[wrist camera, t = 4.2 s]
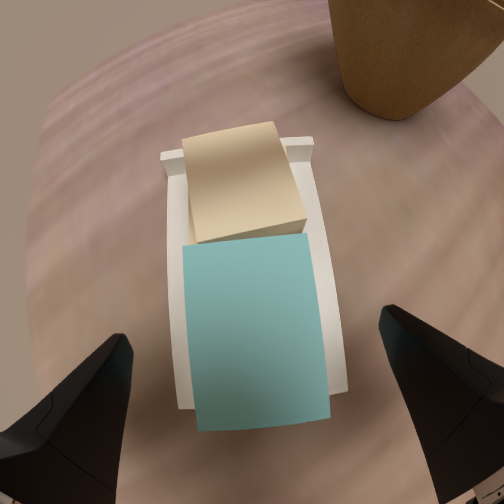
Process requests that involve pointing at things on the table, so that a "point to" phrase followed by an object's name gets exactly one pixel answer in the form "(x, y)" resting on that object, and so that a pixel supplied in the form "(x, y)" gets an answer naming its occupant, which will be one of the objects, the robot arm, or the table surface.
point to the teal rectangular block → (254, 333)
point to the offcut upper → (241, 185)
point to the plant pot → (411, 49)
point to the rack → (321, 261)
